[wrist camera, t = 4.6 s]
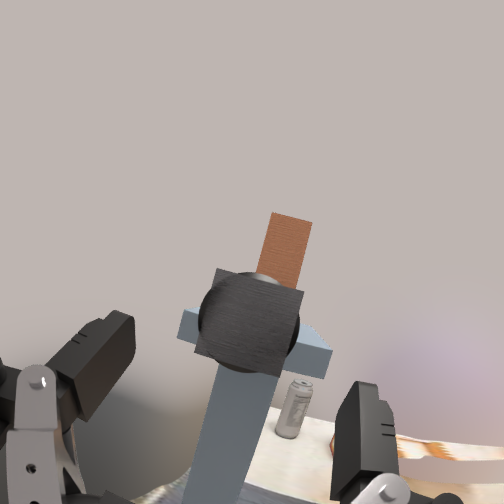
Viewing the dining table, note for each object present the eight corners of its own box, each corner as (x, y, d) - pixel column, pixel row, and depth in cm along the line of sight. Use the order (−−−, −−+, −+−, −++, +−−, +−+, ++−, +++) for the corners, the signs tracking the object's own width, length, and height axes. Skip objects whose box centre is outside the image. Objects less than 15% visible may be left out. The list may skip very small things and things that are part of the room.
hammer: (247, 313, 33) (272, 219, 34) (284, 323, 33) (309, 228, 34) (179, 353, 11) (256, 90, 12) (292, 386, 10) (357, 113, 11)
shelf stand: (164, 507, 34) (216, 300, 37) (245, 532, 32) (319, 328, 35) (121, 575, 18) (170, 305, 21) (229, 609, 17) (347, 353, 20)
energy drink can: (291, 429, 76) (308, 379, 78) (300, 440, 70) (319, 387, 72) (271, 428, 75) (287, 376, 76) (278, 438, 69) (297, 384, 70)
